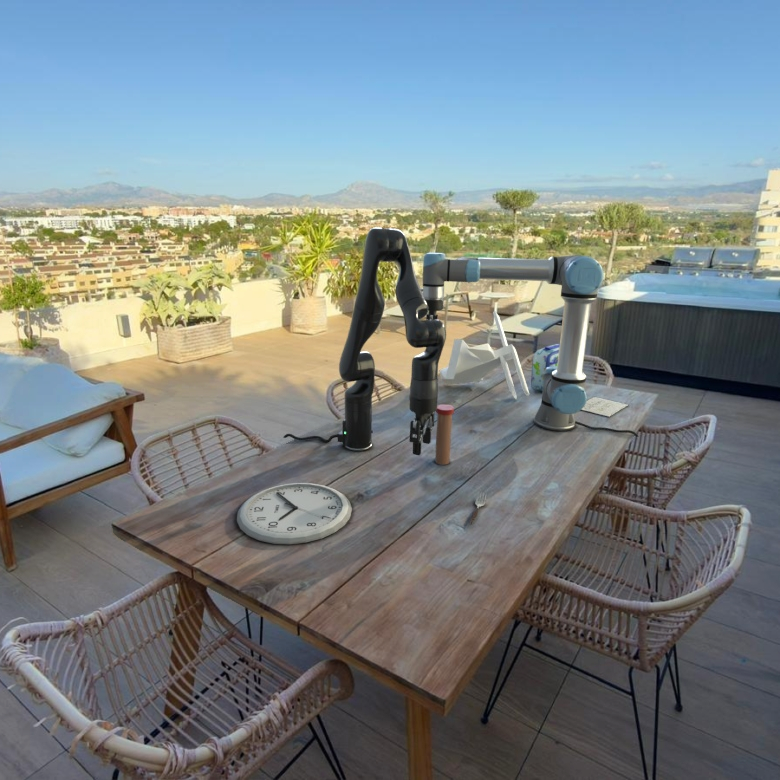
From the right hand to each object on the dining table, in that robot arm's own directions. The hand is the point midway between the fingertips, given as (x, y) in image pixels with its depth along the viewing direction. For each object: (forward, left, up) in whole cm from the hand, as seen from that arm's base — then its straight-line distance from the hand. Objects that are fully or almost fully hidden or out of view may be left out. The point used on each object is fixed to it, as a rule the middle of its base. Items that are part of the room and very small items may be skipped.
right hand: (430, 357), depth 190 cm
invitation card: (-73, -38, -28) cm, 87 cm away
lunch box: (-56, -62, -28) cm, 88 cm away
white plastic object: (-22, -50, -28) cm, 61 cm away
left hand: (0, +50, -14) cm, 52 cm away
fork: (-16, +59, -28) cm, 67 cm away
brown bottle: (-6, +28, -28) cm, 40 cm away
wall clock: (+32, +66, -28) cm, 78 cm away
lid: (-6, +28, -10) cm, 30 cm away
